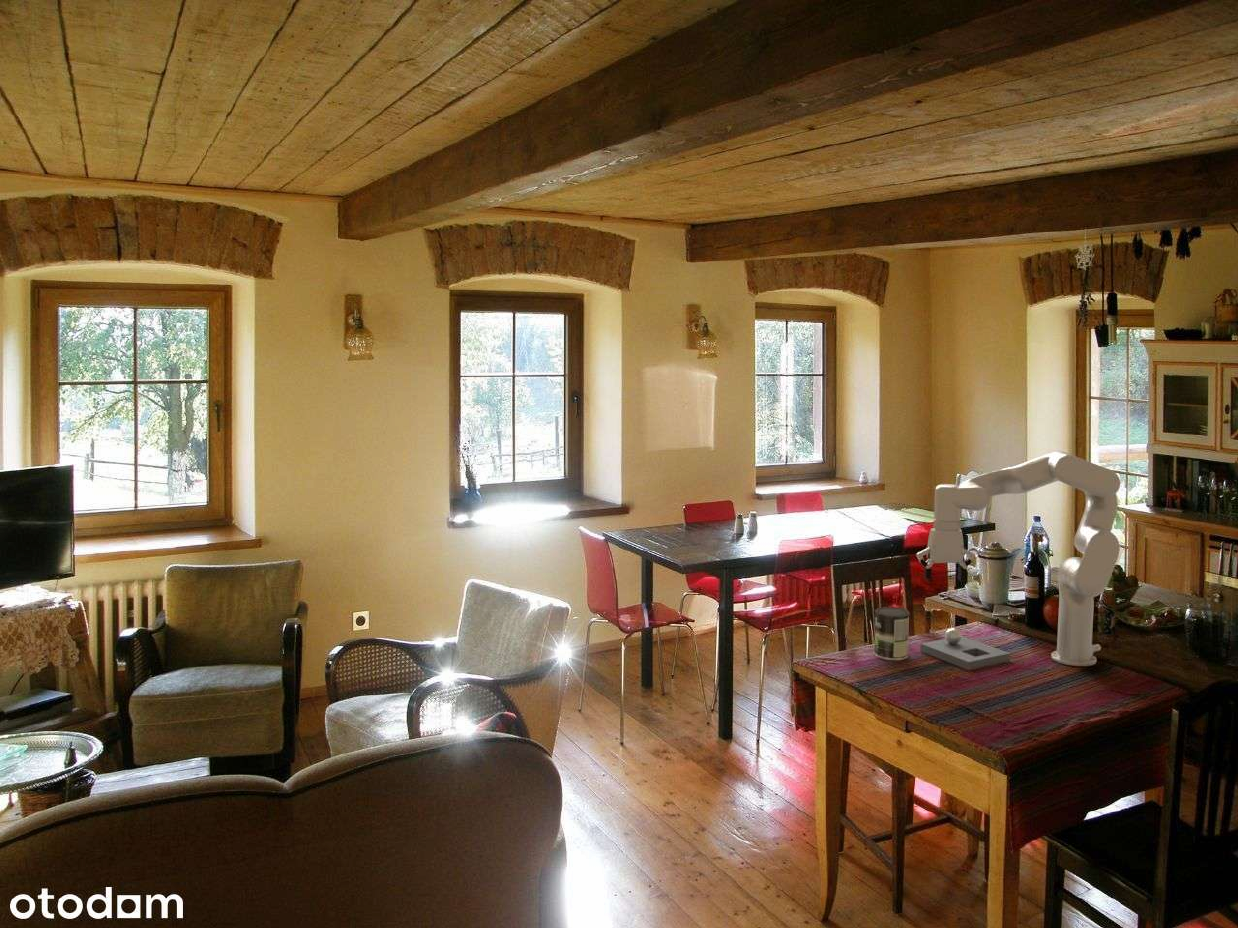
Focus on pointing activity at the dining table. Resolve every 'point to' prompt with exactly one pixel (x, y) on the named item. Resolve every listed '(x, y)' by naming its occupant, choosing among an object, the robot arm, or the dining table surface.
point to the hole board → (965, 653)
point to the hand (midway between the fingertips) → (944, 580)
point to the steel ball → (953, 636)
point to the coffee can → (891, 633)
